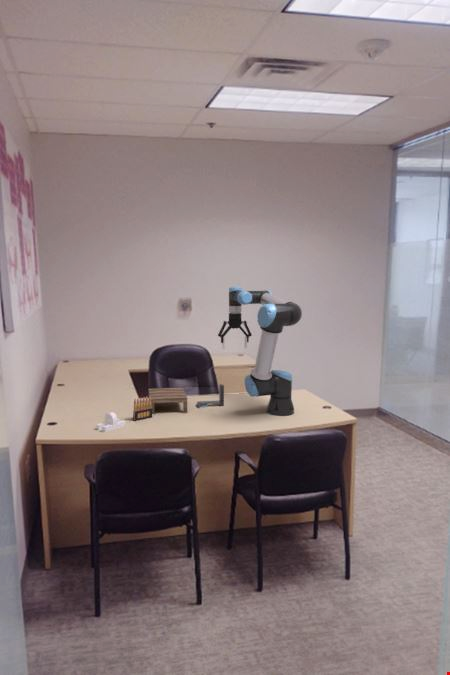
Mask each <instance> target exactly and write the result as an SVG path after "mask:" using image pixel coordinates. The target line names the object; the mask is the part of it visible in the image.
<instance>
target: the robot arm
mask: <svg viewBox="0 0 450 675" xmlns="http://www.w3.org/2000/svg"><path fill="white" fill-rule="evenodd" d="M255 304H256V305H262V306H261V307H259V309H258V311H257V324H258V326H259V328H260V329H261V330H260V331H261V335H260V339H259V344H258V348H257V349H258V350H257V355H256V358H255V364H254V368H252V369H251V370H250V374H248V375H246V376H245V378H244V386H245V391H246V392H247V394H248V395H249V396H250V397H253V398H254V397H257V398H258V397H264V396H270V397H269V401H268V404H267V406H266V412H267V413H268V414H270V415H273V416H291V415H293V414H295V406H294V403H293V400H292V392H293V390H292V389H293V388H292V387H293V386H292V385H293V375H292V373H291V372H289V371H287V370H286V371H285V370H280V369H278V370H277V369H272V365H273V361H274V358H275V356H274V355H275V351H276V347H277V343H278V338H279V334H282V332H283V330H284V327H292V326H295V325H296V324H298V323H299V321H300V320H301V319H302V315H303V313H302V312H303V311H302V309H301V306H300V305H298V304H297V303H295V302H293V301H286V300H285V299H282V298H280V297H278V296H275V295H274V294H273V292H272V291H271V290H266V289H265V290H243V289H242V287H241V286H230V287H229V288H228V321H226V320H223V322H222V326H221V328H220V329H219V332H218V334H217V336H218V337H219V338H220V344H222V349H224V350H225V347H226V346H225V342H226V341H225V340H226V338H225V336H226V335H227V334H228V332H229V331H230V330H231V329H233V330H234V329H240V331H241V332H242V333H243V335H245V336H244V348H245V349H247V348H248V343H249V340H250V337H252V336H253V335H252V332H251V330H250V328H249V327H248V322H247V321H246V320H244V321H243V320H242V305H245V306H246V305H255ZM227 325H228V326H227ZM242 325H243V326H244V328H245V329H246V330H244V328H243V327H242ZM226 326H227V327H226ZM225 328H226V329H225ZM224 329H225V330H224Z"/></svg>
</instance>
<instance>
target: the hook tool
mask: <svg viewBox="0 0 450 675" xmlns="http://www.w3.org/2000/svg"><path fill="white" fill-rule="evenodd" d="M218 386H219V387H218V389H219V390H218V391H219V392H218V393H219V394H218V400H203V401H202V400H199V401H197V402H196V406H197V408H198V409H201V407H200V404H208V405H212V404H213V405H214V404H217V405H218V404H219V406H220V407H224V405H225V385H224V384H222V383H221V384H218Z"/></svg>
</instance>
